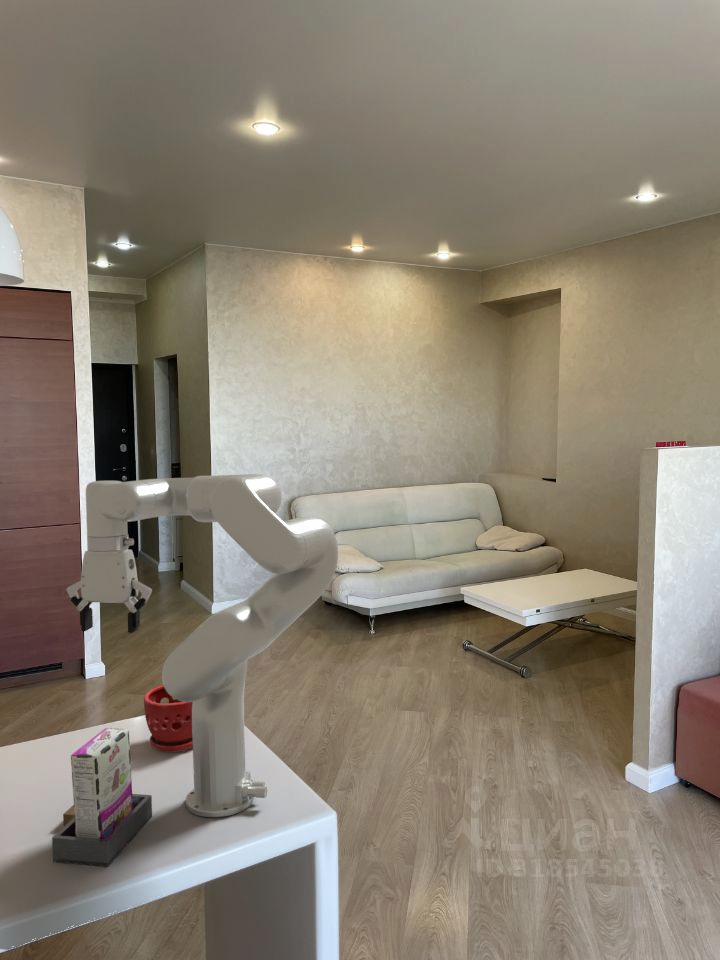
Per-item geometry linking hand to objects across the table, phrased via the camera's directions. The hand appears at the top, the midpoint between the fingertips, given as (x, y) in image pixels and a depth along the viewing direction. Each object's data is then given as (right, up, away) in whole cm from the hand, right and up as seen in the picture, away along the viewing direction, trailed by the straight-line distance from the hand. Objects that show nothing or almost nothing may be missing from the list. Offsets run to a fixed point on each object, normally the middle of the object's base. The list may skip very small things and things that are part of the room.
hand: (110, 630), depth 146 cm
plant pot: (+8, -29, +19) cm, 36 cm away
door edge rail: (0, -31, -8) cm, 32 cm away
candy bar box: (+6, -31, -19) cm, 37 cm away
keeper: (+6, -32, -19) cm, 37 cm away
